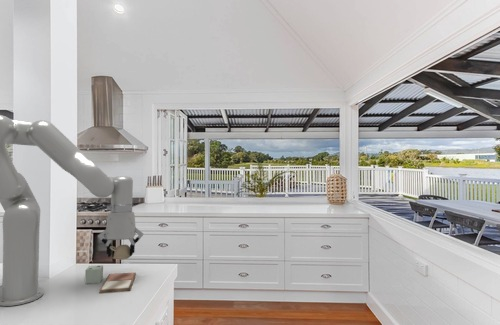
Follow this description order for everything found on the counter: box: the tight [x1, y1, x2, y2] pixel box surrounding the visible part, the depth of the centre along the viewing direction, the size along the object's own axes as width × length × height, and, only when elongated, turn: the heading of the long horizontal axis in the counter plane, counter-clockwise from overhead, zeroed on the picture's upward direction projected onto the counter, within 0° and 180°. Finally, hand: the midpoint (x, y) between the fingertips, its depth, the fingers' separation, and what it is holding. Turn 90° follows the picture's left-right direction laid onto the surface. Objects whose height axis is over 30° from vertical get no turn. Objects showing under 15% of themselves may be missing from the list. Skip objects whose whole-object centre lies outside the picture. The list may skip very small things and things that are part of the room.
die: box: [84, 264, 104, 285], centre depth 117 cm, size 5×5×5 cm
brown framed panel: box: [98, 272, 137, 294], centre depth 115 cm, size 10×16×1 cm, turn 14°
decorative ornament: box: [110, 244, 131, 261], centre depth 118 cm, size 4×8×5 cm, turn 127°
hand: (120, 255), depth 118 cm, fingers closed on decorative ornament, 7 cm apart
